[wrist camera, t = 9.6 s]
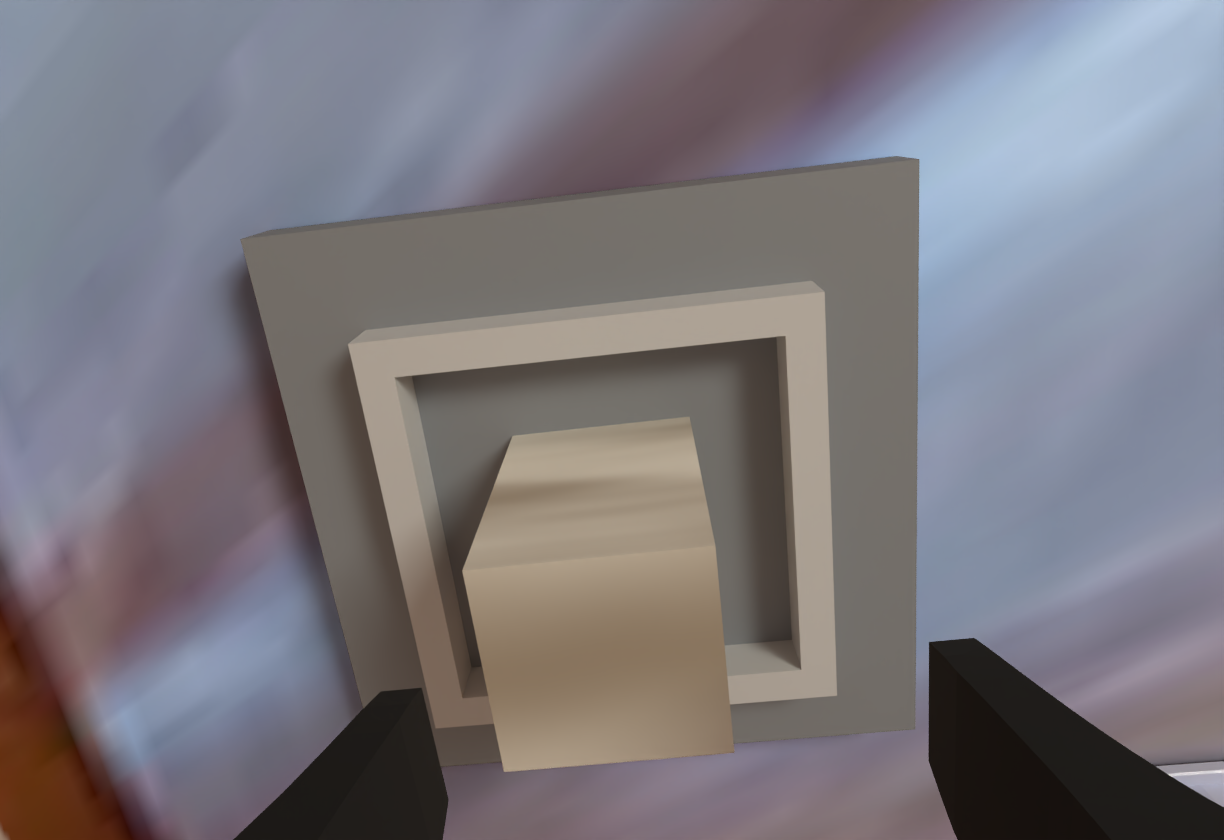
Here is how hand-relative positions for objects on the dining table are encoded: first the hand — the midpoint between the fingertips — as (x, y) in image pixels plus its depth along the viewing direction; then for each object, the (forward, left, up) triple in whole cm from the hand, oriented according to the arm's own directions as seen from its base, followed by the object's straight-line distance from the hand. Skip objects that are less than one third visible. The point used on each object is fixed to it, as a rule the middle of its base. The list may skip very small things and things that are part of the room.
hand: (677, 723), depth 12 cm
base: (0, +1, -9) cm, 9 cm away
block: (0, +1, -8) cm, 8 cm away
